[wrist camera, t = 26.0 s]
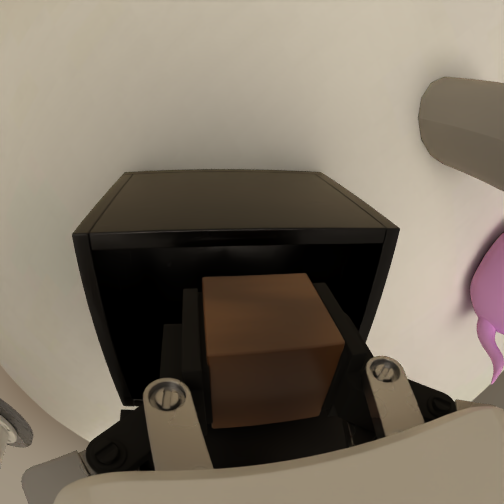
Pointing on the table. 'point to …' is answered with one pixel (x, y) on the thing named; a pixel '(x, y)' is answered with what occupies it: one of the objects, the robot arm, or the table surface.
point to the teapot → (490, 301)
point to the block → (267, 348)
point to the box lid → (272, 441)
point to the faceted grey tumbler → (465, 126)
